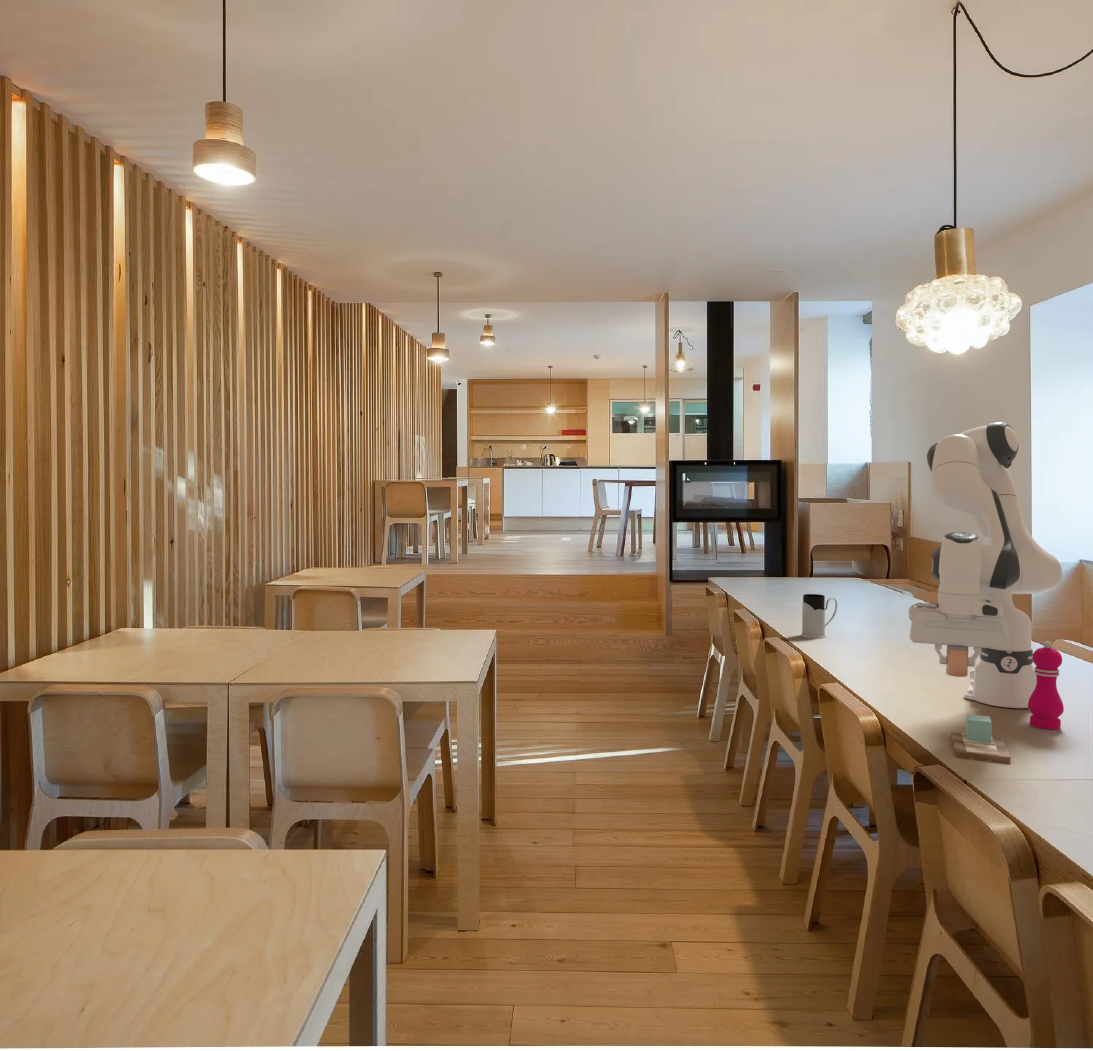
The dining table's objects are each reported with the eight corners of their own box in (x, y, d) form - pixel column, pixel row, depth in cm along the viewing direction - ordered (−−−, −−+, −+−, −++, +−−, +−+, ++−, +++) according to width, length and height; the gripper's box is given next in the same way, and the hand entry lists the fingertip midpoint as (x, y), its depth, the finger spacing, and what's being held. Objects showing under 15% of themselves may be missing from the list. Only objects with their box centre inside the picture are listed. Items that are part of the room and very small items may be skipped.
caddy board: (951, 737, 188) (951, 731, 188) (1001, 742, 184) (1001, 736, 184) (955, 757, 175) (956, 750, 175) (1010, 763, 171) (1010, 756, 171)
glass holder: (795, 634, 309) (796, 594, 308) (828, 632, 313) (829, 592, 312) (810, 639, 300) (810, 597, 300) (843, 636, 305) (844, 595, 304)
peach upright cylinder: (942, 672, 193) (943, 642, 193) (960, 671, 193) (962, 642, 193) (952, 677, 189) (953, 647, 188) (971, 676, 189) (972, 646, 189)
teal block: (965, 734, 186) (966, 714, 185) (988, 736, 184) (989, 716, 184) (967, 740, 181) (968, 719, 181) (991, 742, 180) (991, 722, 179)
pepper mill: (1030, 719, 202) (1032, 636, 200) (1065, 724, 197) (1068, 640, 196) (1024, 726, 196) (1027, 641, 195) (1060, 732, 192) (1063, 645, 190)
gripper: (909, 604, 191) (907, 664, 192) (1011, 609, 184) (1008, 672, 185) (908, 599, 197) (906, 657, 198) (1007, 605, 189) (1004, 665, 190)
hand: (956, 664), depth 191 cm, fingers closed on peach upright cylinder, 4 cm apart
